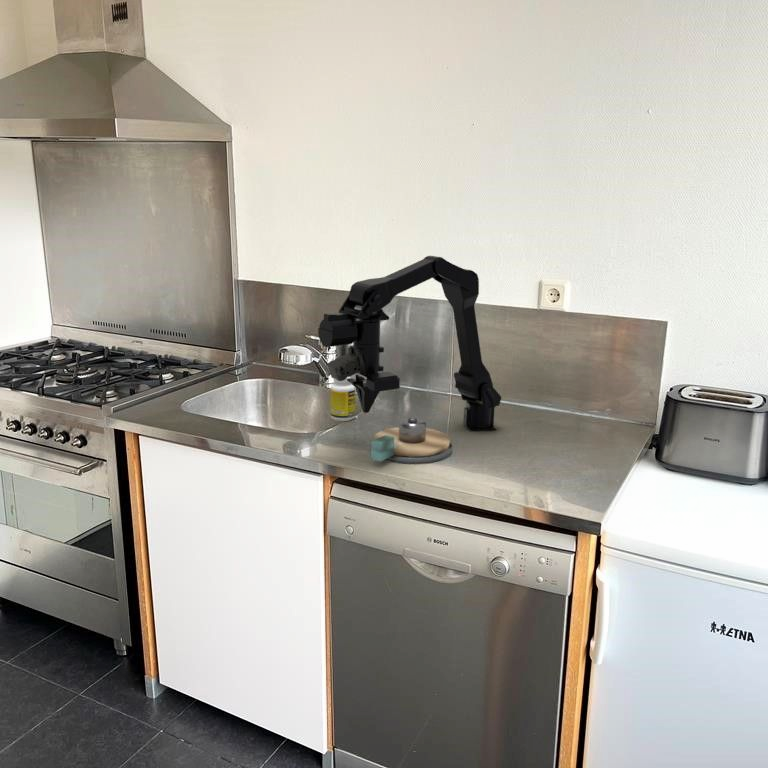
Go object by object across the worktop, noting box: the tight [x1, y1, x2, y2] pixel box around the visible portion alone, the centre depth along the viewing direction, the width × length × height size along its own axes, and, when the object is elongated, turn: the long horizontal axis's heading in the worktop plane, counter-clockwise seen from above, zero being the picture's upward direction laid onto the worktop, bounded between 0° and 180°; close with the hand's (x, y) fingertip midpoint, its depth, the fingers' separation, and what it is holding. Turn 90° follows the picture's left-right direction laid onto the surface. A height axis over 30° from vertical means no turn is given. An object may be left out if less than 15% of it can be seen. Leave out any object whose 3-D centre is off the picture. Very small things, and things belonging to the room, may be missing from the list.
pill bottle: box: [330, 377, 356, 422], centre depth 191 cm, size 6×6×11 cm
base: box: [384, 442, 453, 465], centre depth 171 cm, size 18×18×1 cm
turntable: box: [370, 426, 451, 462], centre depth 168 cm, size 22×17×4 cm
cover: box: [398, 416, 427, 444], centre depth 169 cm, size 6×6×5 cm
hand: (365, 412), depth 166 cm, fingers closed
